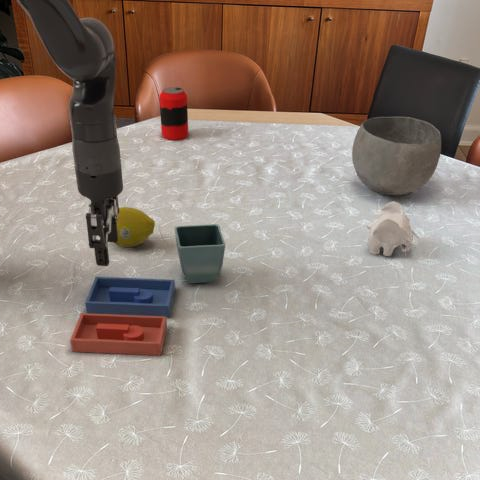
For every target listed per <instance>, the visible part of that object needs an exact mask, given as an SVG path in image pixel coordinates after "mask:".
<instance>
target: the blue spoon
mask: <svg viewBox="0 0 480 480" xmlns="http://www.w3.org/2000/svg"><path fill="white" fill-rule="evenodd" d="M109 297H110V301H116V302H135V303H145V304H151V303H152V302H153V293H152V291H150V290H148V289H139V288H121V287H110V289H109Z"/></svg>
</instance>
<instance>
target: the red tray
mask: <svg viewBox="0 0 480 480" xmlns="http://www.w3.org/2000/svg"><path fill="white" fill-rule="evenodd" d="M167 318H168V317H165V316H140V315H115V314H91V313H87V312H81V313H80V315H79V317H78V320H77V321H76V324H75V327H74V329H73V332H72V335H71V337H70V339H69V341H70V347H71V352H73V353H74V352H75V353H99V354H120V355H121V354H124V355H145V356H146V355H147V356H162V353H163V349H164V345H165V339H166V334H167V330H168V320H167ZM98 323H100V324H124V325H129V326H132V325H136V326H140V327H142V328H143V330H144V339H143V340H142V341H126V340H118V339H98V338H97V331H96V327H97V324H98Z"/></svg>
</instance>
